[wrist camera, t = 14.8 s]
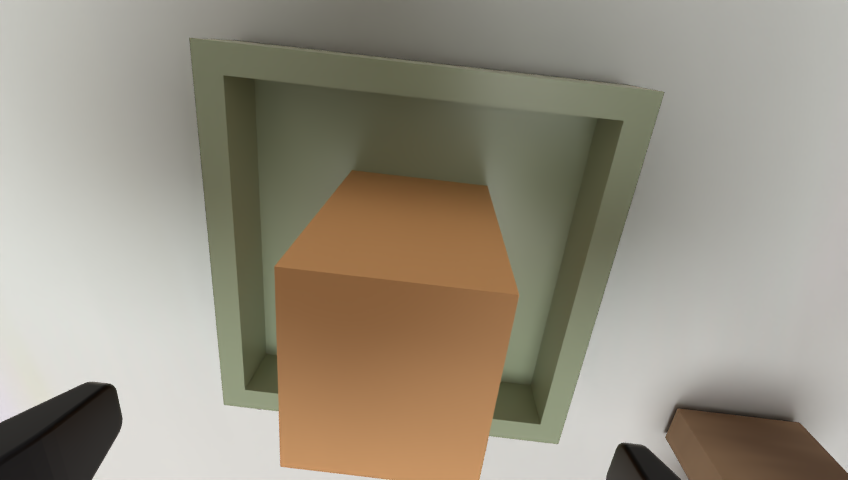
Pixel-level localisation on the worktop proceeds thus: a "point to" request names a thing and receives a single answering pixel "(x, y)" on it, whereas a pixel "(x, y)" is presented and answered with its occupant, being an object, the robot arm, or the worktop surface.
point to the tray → (421, 158)
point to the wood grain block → (747, 448)
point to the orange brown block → (393, 330)
